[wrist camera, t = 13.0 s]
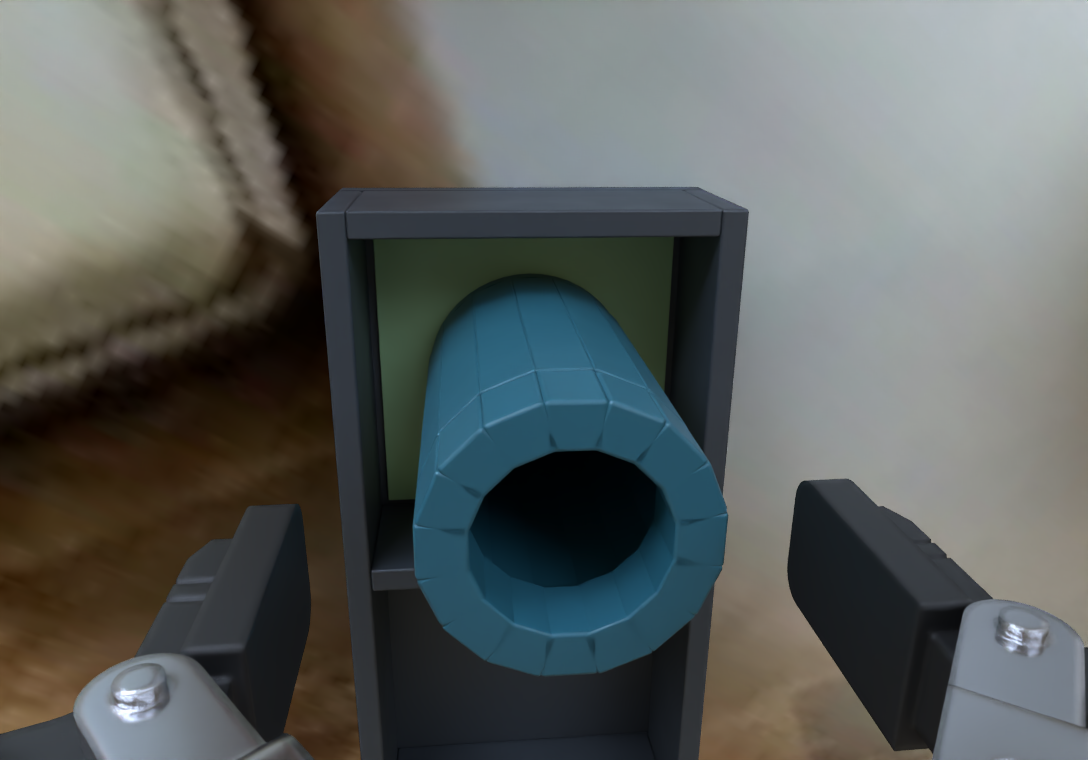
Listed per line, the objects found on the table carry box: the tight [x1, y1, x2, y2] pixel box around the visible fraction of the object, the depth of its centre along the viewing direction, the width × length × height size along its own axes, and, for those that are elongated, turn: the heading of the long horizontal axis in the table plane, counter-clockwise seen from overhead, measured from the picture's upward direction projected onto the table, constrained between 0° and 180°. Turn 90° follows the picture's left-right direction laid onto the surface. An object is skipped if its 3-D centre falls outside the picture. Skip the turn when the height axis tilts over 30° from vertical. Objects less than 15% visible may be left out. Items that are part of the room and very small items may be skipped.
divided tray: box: [316, 187, 749, 760], centre depth 22 cm, size 9×18×4 cm, turn 0°
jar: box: [413, 274, 728, 677], centre depth 18 cm, size 5×5×9 cm
